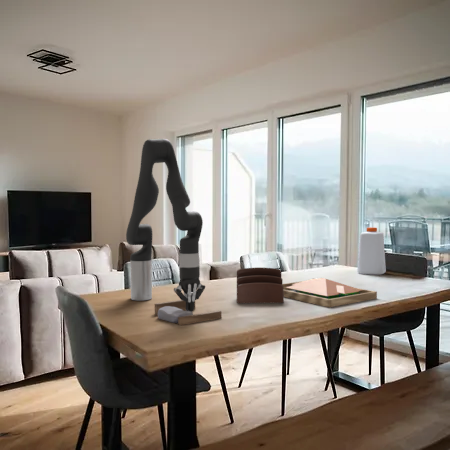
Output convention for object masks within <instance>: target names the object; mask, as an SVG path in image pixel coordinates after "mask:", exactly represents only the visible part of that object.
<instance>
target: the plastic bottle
mask: <svg viewBox="0 0 450 450" xmlns="http://www.w3.org/2000/svg"><path fill="white" fill-rule="evenodd" d="M358 243H359V244H358V259H357V269H356V270H357V273H358V274H359V275H370V276H371V275H372V276H380V275H384V274H385V273H386V271H387V269H386V268H387V267H386V265H387V264H386V254H385V251H386V250H385V238H384V233H383V232H381V231H378V228H377V227H371V226H370V227H366V231H362V232H360V234H359V242H358Z"/></svg>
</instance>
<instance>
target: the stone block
mask: <svg viewBox="0 0 450 450" xmlns="http://www.w3.org/2000/svg"><path fill="white" fill-rule="evenodd" d="M193 312H194V311H193ZM193 312H192V311H187V310H185V311H183V310H182V309H179V308H177V307H171V306H165V307H162V308H160V309H159V310H158V315H157V318H158V319H159V320H163V321H165V322H169V323H173V324H178V317H182V316H189V315H194V313H193Z"/></svg>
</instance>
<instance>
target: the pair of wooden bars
mask: <svg viewBox="0 0 450 450" xmlns="http://www.w3.org/2000/svg"><path fill="white" fill-rule="evenodd" d="M165 306H171V307H177V308H179V309H182V310H183V311H187V310H186V302H185V301H183V300H181V299H178V300H172V301H166V302H157V303H154V315H156V316H158V310H159V309H160V308H162V307H165ZM194 310H196V300H195V301H194ZM219 319H222V310H214V311H207V312H201V313H196V314H193V315H189V316H182V317H178V323H177V325H178V326H183V325H185V326H186V325H190V324H194V323H201V322H207V321H213V320H219Z"/></svg>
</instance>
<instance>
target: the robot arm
mask: <svg viewBox="0 0 450 450" xmlns="http://www.w3.org/2000/svg"><path fill="white" fill-rule="evenodd" d="M140 157H141V159H140V167H139V174H138V179H137V186H136V188H135V193H134V200H133V205H132V206H133V207H132V211H131V215H130V218H129V222H128V225H127V229H126V234H125V236H126V237H125V238H126V239H125V240H126V242H127V244H128V245H130V246H142V247H141V248H140V249H139V250H137V251H135V252H133V253H132V252H131V254H130V261H129V262H130V265H129V266H130V300H132V301H138V302H139V301H149V300H152V299H153V280H152V279H153V274H152V273H153V268H152V266H153V265H152V264H153V263H152V258H153V257H152V255H153V229H152V226H151V224H148V223H142V221H143V219H144V218H145V217H147V215H149V214H150V213H151V212H152V210H153V209H154V208H155V207H156V204H157V202H158V197H159V193H160V190H159V189H160V188H159V186H158V184H157V181H156V179H155V177H154V175H153V170H154V169H153V168H154V165H155V164H160V163H164V164H165V166H166V167H167V178H166V182H165V184H166V185H165V190H166V195H167V197H168V199H169V201H170V204H171V206H172V215H173V221H174V222H173V223H174V225H175V226H176V228H178V230H179V231H182V232H186V235H185V236H183V237H181V238H180V239H179V260H178V265H179V266H178V269H179V271H178V272H179V275H178V276H179V282H178V286H177V287H174V288H173V292H174V293H175V294H176V295H177V296H178V298H179V300H183V301H185V302H186V310H185V311H192V312H194V310H195V309H194V301H195V302H196V301H197V300H199V299H200V298H201V296H202V294H203V292H204V291H205V288H206V285H205V284H202V283H201V280H200V277H201V276H200V274H201V273H200V271H201V270H200V267H201V266H200V265H201V264H200V263H201V262H200V252H199V251H200V250H199V241H200V238H201V233H202V230H203V224H204V223H203V221H204V220H203V218H202V215H201V214H200V212H198V211H187V209H186V208H187V207H189V206H190V204H191V199H190V196H189V195H188V192H187V190H186V188H185V185H184V183H183V180H182V176H181V171H180V168H179V165H178V161H177V157H176V153H175V150H174V146H173V144H172V143H171V141H170V140H169V139H167V138H153V139H152V138H151V139H150V138H149V139H147V140H145V141H144V142H143V144H142V149H141V156H140ZM182 291H183V292H182Z"/></svg>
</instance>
